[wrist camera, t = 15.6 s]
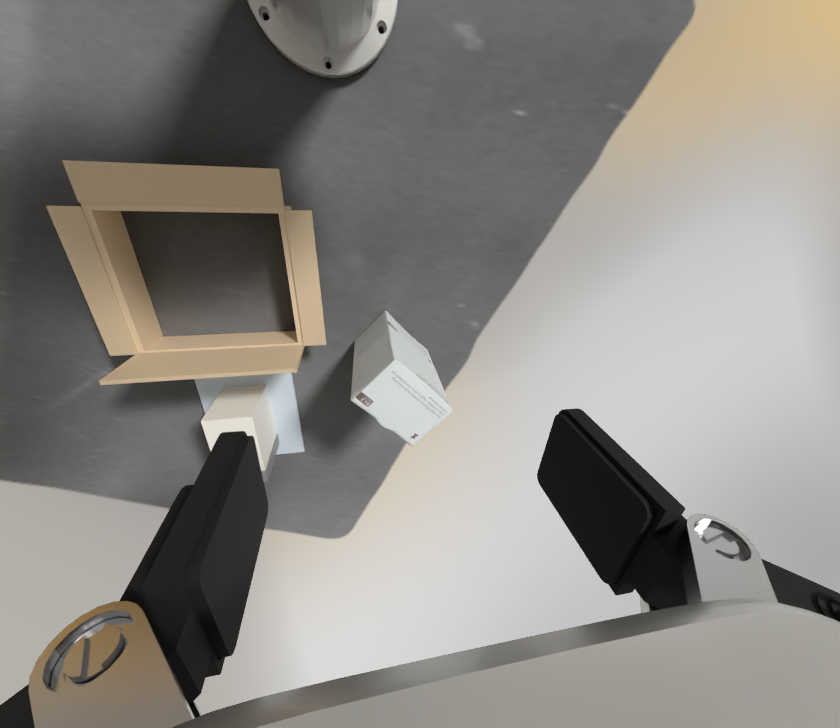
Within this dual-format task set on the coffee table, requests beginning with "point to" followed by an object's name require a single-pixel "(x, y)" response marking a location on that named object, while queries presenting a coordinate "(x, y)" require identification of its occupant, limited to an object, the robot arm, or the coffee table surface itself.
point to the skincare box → (397, 381)
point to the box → (245, 421)
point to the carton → (125, 287)
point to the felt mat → (280, 401)
